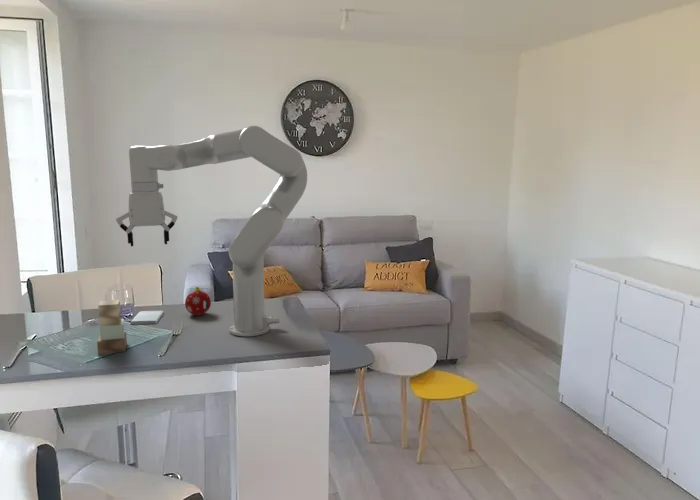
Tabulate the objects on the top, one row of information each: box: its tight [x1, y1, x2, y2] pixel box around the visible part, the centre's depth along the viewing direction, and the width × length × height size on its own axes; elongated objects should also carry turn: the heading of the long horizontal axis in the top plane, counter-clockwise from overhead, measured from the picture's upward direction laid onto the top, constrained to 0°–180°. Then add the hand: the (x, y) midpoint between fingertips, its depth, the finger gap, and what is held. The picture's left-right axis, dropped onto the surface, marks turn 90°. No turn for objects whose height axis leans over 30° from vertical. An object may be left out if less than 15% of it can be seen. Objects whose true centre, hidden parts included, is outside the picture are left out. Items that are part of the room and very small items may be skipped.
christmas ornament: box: [184, 286, 212, 316], centre depth 188 cm, size 9×9×10 cm
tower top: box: [99, 318, 125, 340], centre depth 155 cm, size 6×6×4 cm
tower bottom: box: [96, 331, 128, 355], centre depth 155 cm, size 7×7×4 cm
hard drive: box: [130, 310, 165, 325], centre depth 184 cm, size 2×8×12 cm
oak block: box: [97, 299, 122, 327], centre depth 153 cm, size 5×5×6 cm
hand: (149, 244), depth 165 cm, fingers open, 9 cm apart
